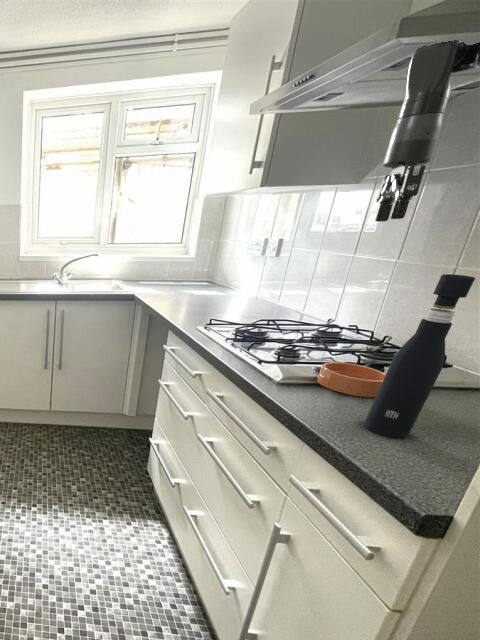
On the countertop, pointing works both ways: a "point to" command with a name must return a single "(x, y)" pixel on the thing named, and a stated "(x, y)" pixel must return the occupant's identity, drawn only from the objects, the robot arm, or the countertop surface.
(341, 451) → the countertop surface
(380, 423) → the dark water bottle
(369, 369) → the bowl
